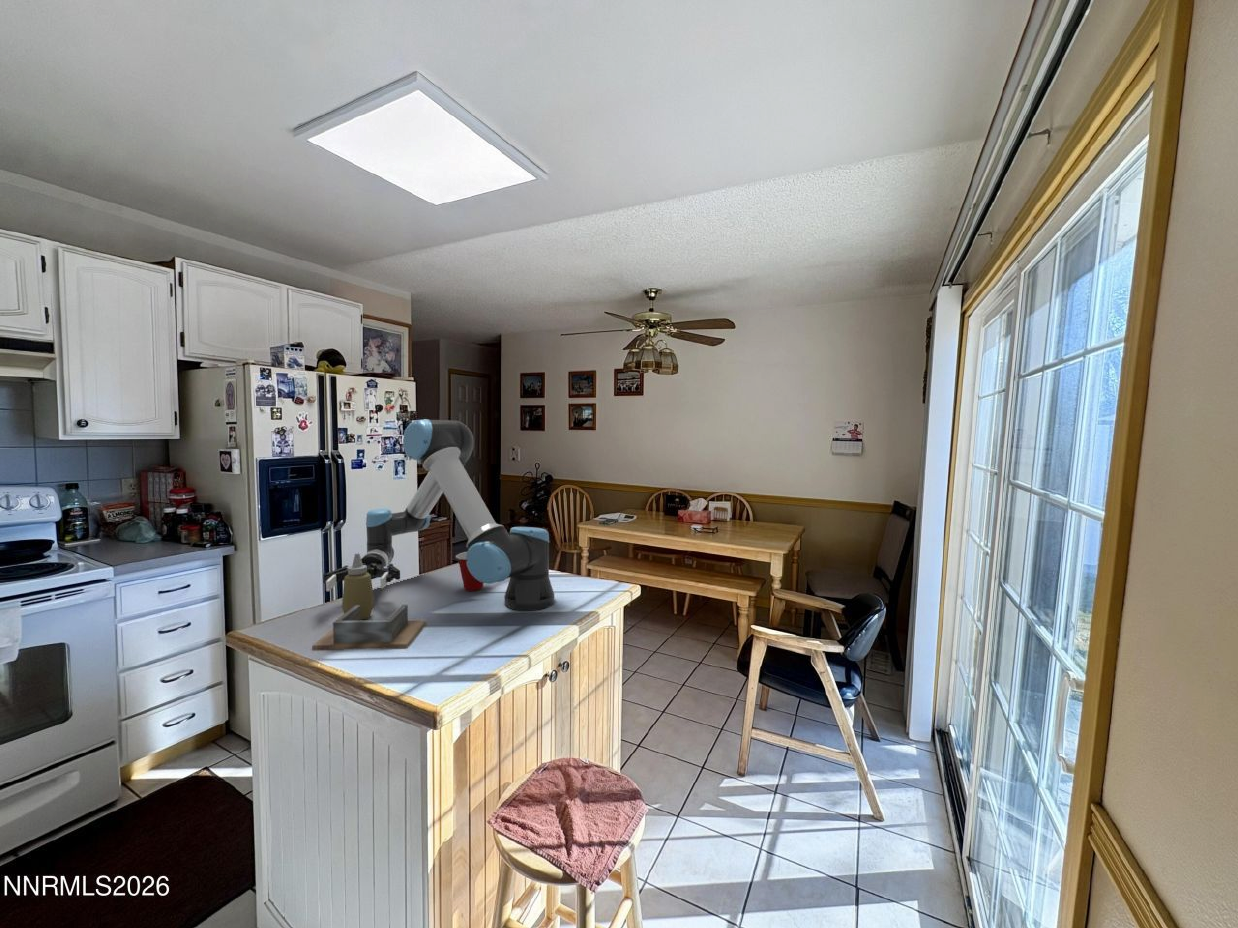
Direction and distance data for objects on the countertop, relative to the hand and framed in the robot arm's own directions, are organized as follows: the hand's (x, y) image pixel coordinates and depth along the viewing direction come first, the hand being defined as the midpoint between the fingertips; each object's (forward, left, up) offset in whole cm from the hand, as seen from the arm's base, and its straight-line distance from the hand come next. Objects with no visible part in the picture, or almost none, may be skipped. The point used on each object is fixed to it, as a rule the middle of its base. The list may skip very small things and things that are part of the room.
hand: (355, 584), depth 139 cm
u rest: (-9, +11, -10) cm, 17 cm away
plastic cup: (-26, -27, -10) cm, 39 cm away
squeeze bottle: (0, -2, -10) cm, 10 cm away
